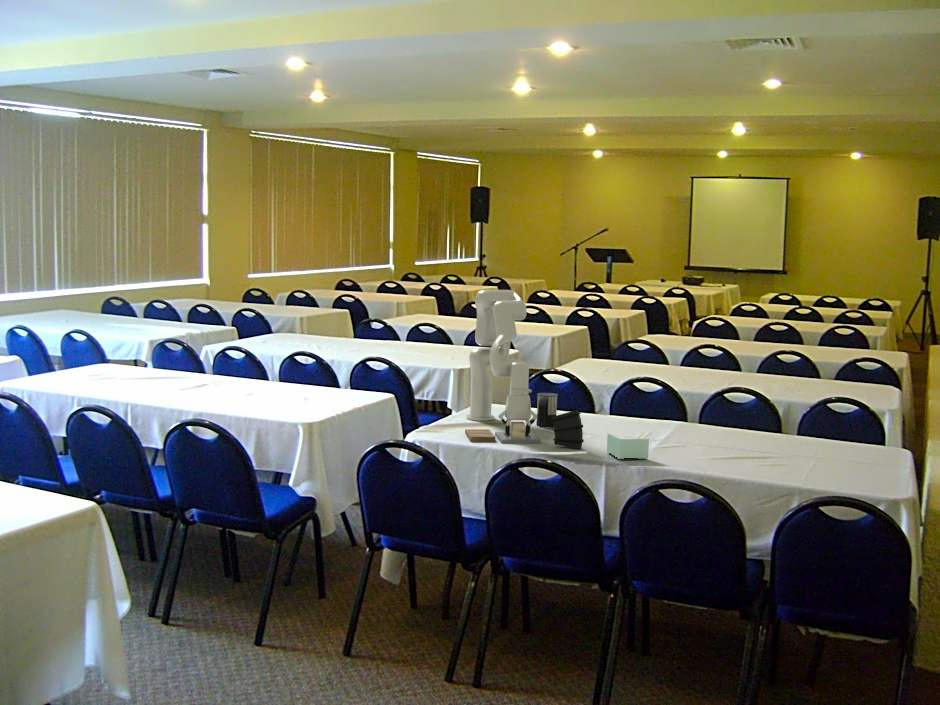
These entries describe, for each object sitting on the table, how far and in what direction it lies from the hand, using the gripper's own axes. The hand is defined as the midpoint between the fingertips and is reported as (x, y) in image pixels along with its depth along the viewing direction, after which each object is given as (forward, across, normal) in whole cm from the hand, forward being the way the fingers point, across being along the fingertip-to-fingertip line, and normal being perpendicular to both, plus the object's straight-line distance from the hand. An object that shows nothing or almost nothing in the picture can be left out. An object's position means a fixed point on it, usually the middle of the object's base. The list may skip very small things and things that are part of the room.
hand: (517, 434), depth 414 cm
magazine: (+3, -19, +18) cm, 27 cm away
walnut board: (+2, +15, -3) cm, 15 cm away
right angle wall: (+3, -37, +29) cm, 48 cm away
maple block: (+2, 0, 0) cm, 2 cm away
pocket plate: (+2, 0, 0) cm, 2 cm away
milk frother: (+2, -21, -23) cm, 31 cm away
